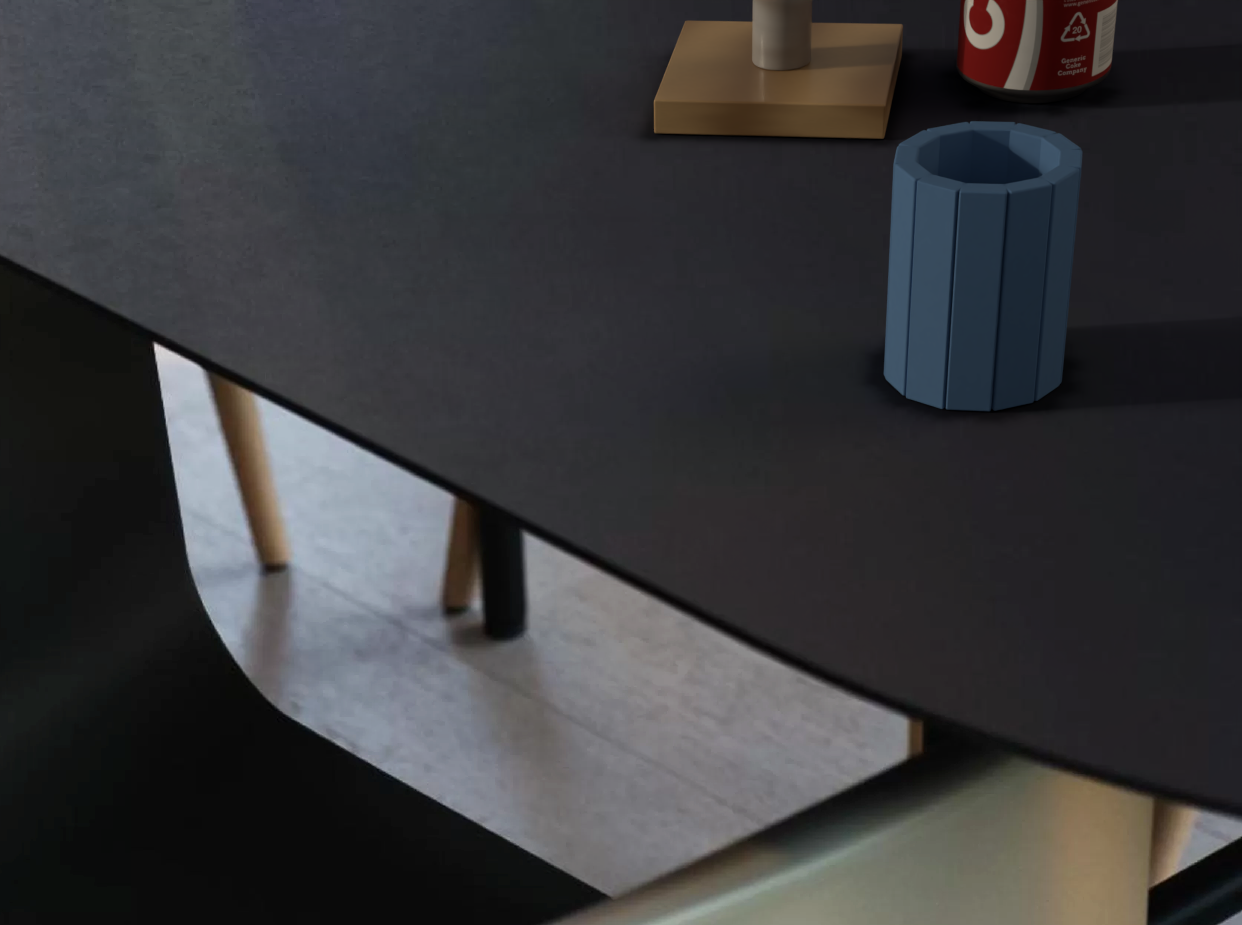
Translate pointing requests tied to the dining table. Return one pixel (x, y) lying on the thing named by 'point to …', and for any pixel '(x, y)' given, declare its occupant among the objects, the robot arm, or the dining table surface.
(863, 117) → the wooden base plate
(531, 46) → the dining table surface
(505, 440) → the dining table surface
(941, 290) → the sleeve
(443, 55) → the dining table surface
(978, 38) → the soda can
